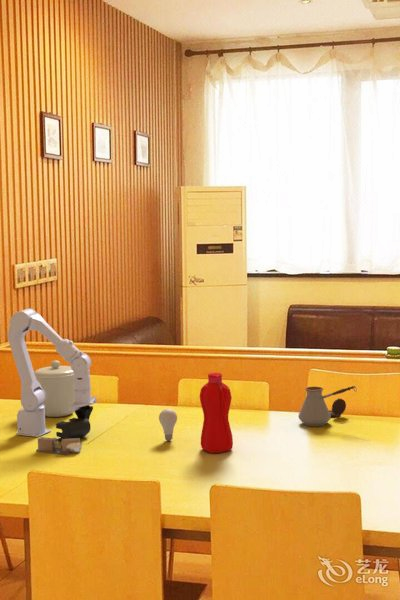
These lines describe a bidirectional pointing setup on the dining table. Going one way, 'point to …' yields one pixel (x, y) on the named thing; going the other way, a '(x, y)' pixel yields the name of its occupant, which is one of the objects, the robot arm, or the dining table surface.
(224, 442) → the water bottle
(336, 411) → the compass
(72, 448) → the shaft rig
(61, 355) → the robot arm
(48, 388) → the canister
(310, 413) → the coffee pot
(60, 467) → the dining table surface
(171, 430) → the lightbulb
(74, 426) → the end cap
